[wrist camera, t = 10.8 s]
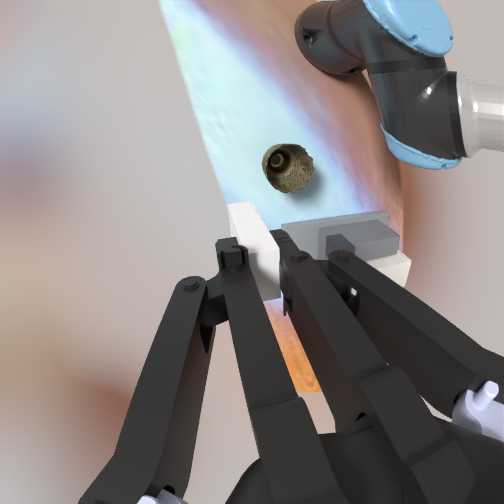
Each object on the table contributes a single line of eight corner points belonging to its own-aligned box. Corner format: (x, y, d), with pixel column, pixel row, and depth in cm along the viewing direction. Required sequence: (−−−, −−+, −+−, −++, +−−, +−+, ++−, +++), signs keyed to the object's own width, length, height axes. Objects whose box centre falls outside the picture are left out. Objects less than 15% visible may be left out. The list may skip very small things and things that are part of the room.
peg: (331, 281, 54) (347, 302, 48) (334, 255, 51) (351, 275, 45) (386, 268, 56) (405, 285, 50) (391, 244, 53) (411, 260, 47)
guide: (282, 296, 60) (298, 328, 51) (281, 224, 52) (300, 250, 43) (375, 275, 63) (398, 300, 54) (384, 210, 55) (415, 230, 46)
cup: (303, 164, 47) (322, 174, 40) (270, 188, 48) (284, 202, 41) (280, 130, 43) (297, 134, 36) (245, 155, 44) (255, 163, 37)
